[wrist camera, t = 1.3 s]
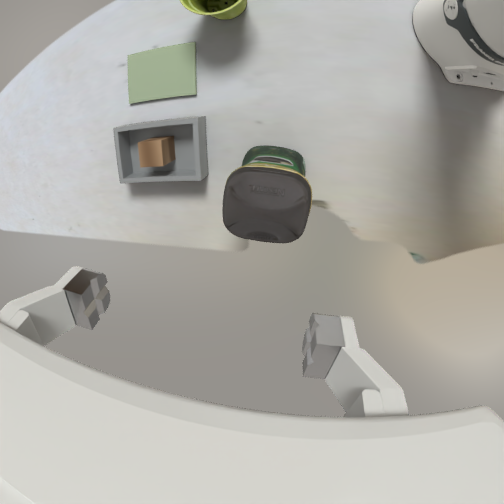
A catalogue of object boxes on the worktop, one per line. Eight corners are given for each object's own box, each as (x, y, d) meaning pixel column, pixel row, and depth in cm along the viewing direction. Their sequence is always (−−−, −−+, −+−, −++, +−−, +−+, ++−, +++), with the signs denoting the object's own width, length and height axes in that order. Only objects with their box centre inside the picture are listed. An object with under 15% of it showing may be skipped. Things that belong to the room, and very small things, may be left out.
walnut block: (173, 135, 42) (160, 140, 38) (175, 159, 44) (163, 166, 40) (152, 137, 42) (137, 142, 38) (154, 160, 44) (140, 167, 40)
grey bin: (205, 116, 40) (197, 117, 37) (208, 174, 45) (201, 180, 42) (125, 125, 42) (113, 128, 39) (131, 176, 47) (120, 183, 43)
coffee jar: (242, 189, 46) (213, 243, 30) (245, 142, 42) (215, 169, 26) (301, 197, 45) (306, 256, 29) (308, 150, 41) (320, 182, 25)
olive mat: (195, 42, 34) (194, 41, 34) (196, 94, 39) (195, 94, 38) (129, 55, 36) (127, 55, 35) (130, 103, 40) (129, 103, 40)
